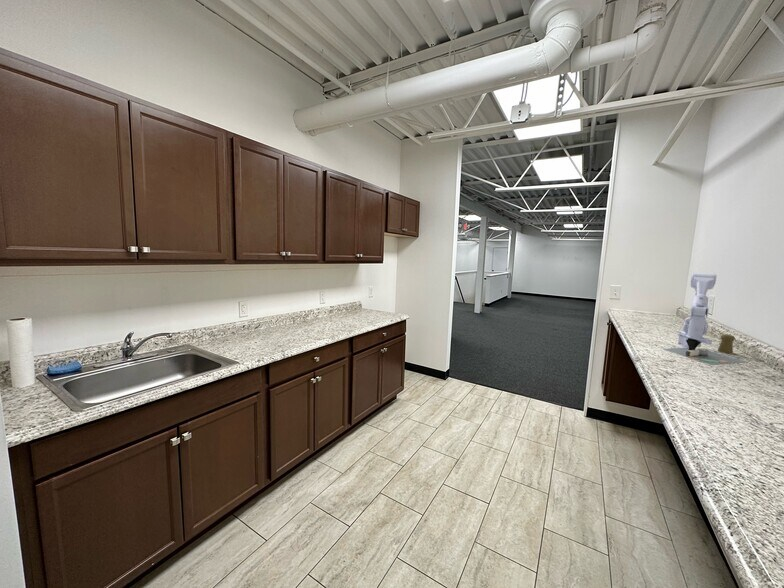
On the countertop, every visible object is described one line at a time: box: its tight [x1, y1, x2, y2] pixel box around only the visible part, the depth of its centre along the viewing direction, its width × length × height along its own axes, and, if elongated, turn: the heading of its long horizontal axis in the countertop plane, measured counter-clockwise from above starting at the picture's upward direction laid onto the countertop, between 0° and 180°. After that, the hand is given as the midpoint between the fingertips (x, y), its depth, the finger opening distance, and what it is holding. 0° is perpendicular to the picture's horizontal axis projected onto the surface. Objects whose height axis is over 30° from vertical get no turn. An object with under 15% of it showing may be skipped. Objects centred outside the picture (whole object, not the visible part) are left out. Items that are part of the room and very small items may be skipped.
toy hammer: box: [686, 346, 709, 356], centre depth 163 cm, size 14×6×4 cm, turn 107°
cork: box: [717, 333, 736, 354], centre depth 170 cm, size 6×6×11 cm
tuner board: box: [662, 347, 749, 366], centre depth 164 cm, size 24×23×1 cm
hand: (691, 352), depth 164 cm, fingers closed, pressing on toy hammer
